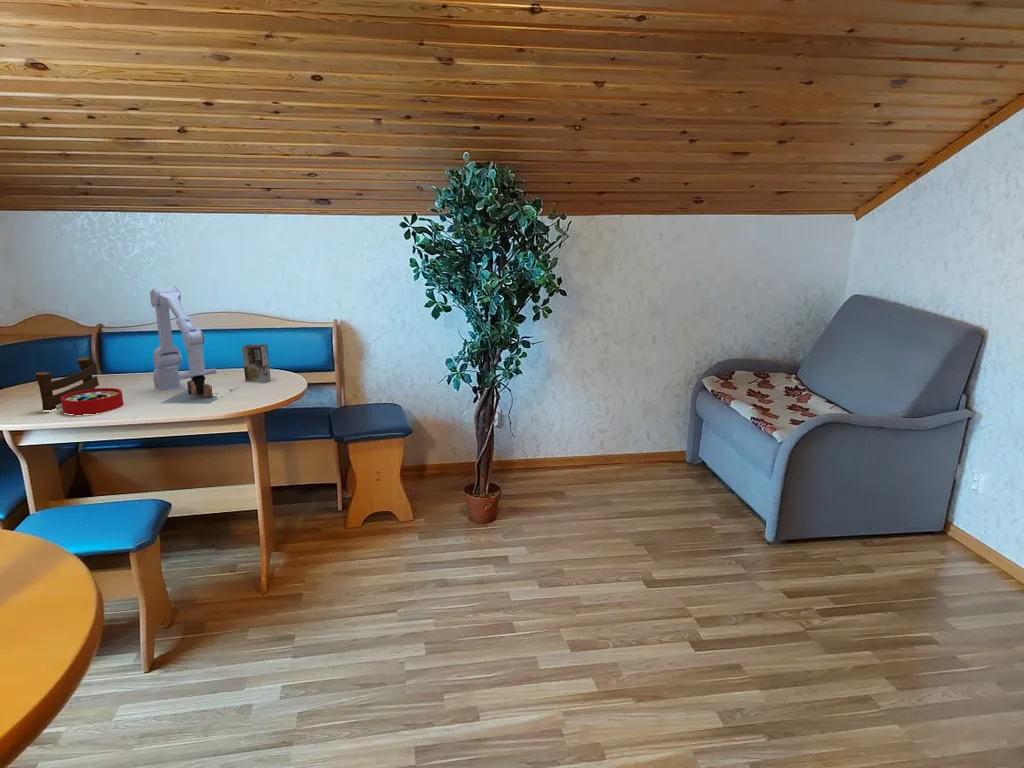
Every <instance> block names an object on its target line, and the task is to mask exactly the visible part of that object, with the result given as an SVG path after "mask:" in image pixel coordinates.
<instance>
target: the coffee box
mask: <svg viewBox="0 0 1024 768" xmlns="http://www.w3.org/2000/svg"><path fill="white" fill-rule="evenodd" d="M241 353H242V364H243V370H244V371H243V372H244V379H245V382H246V383H259V382H265V383H267V382H269V381H271V380H270V379H271V373H270V363H269V362H270V361H269V351H268V344H258V343H257V344H246V345H244V346H241ZM268 380H269V381H268ZM266 381H267V382H266Z"/></svg>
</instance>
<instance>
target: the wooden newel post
mask: <svg viewBox="0 0 1024 768" xmlns="http://www.w3.org/2000/svg"><path fill="white" fill-rule="evenodd" d="M190 384H191V392H192V394H195V395H199V394H197V392H196V385H195V383H194V382H190ZM212 387H213V386H212V385H210V384H208V383H205V384H203V386H202V388H203V394H201V395H200V396H206V397H209V398H211V397H213V394H212Z"/></svg>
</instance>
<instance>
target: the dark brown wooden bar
mask: <svg viewBox="0 0 1024 768" xmlns="http://www.w3.org/2000/svg"><path fill="white" fill-rule="evenodd" d="M186 381H187V380H186ZM190 382H193V380H192V379H190V380H188V381H187V382H186V384H187V390H188V394H192V392H191V384H190ZM203 384H206V383H205V382H204V383H203Z"/></svg>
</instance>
